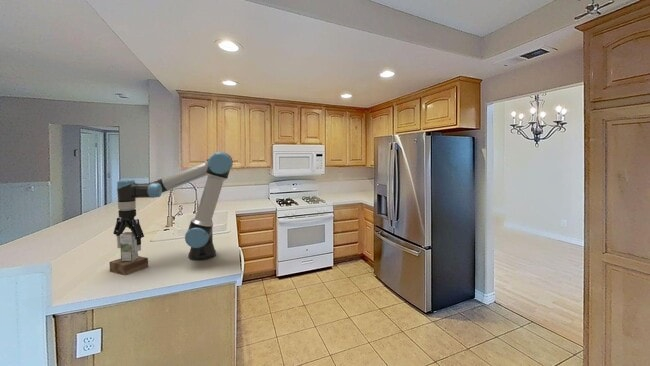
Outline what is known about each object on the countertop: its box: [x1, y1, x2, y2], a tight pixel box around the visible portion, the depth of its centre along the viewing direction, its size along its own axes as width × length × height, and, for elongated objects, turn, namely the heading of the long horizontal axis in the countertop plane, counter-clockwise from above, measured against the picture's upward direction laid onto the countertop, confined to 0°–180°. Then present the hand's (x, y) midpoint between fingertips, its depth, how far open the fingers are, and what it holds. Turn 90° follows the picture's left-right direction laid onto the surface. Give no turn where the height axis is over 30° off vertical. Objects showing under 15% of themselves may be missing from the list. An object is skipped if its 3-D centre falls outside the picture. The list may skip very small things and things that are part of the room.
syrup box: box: [119, 231, 139, 262], centre depth 145 cm, size 6×6×14 cm
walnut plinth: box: [108, 255, 149, 276], centre depth 146 cm, size 12×12×5 cm
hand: (129, 249), depth 146 cm, fingers open, 13 cm apart
